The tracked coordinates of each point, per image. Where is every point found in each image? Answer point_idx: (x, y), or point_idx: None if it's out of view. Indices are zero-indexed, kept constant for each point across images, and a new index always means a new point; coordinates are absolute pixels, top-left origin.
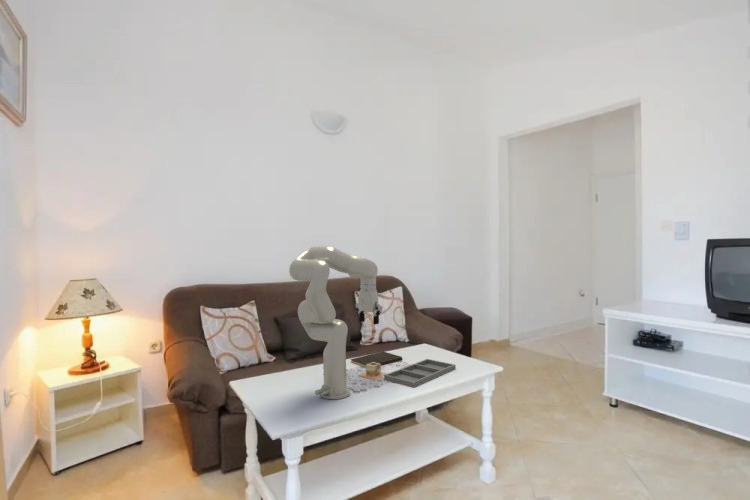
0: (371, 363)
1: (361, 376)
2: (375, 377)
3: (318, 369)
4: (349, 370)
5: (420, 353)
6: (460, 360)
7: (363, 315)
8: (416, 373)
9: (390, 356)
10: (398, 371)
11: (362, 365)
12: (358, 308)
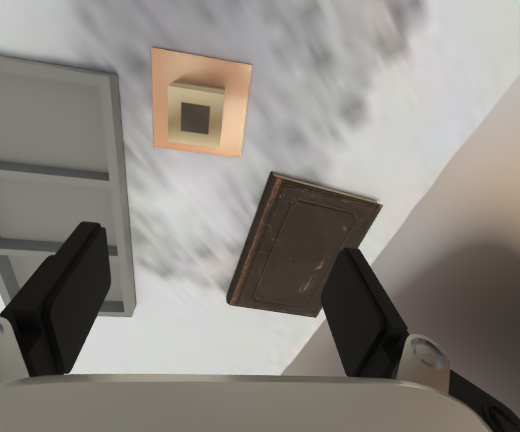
0: (208, 120)
1: (234, 62)
2: (164, 75)
3: (473, 52)
4: (333, 115)
5: (219, 357)
6: (81, 361)
7: (348, 346)
8: (18, 172)
9: (263, 291)
10: (109, 165)
11: (311, 184)
12: (480, 425)
